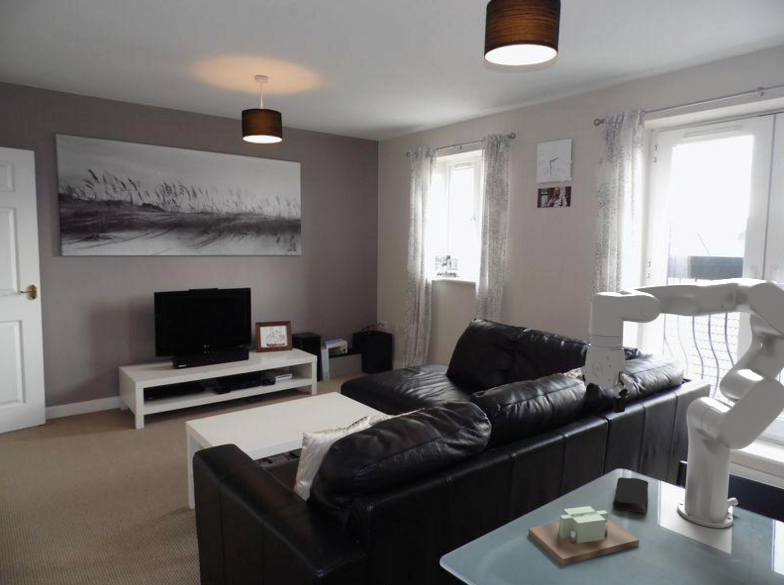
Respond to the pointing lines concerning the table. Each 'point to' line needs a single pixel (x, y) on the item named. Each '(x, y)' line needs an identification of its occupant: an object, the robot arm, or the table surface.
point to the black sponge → (631, 495)
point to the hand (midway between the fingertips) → (604, 406)
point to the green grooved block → (583, 524)
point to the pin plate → (573, 551)
